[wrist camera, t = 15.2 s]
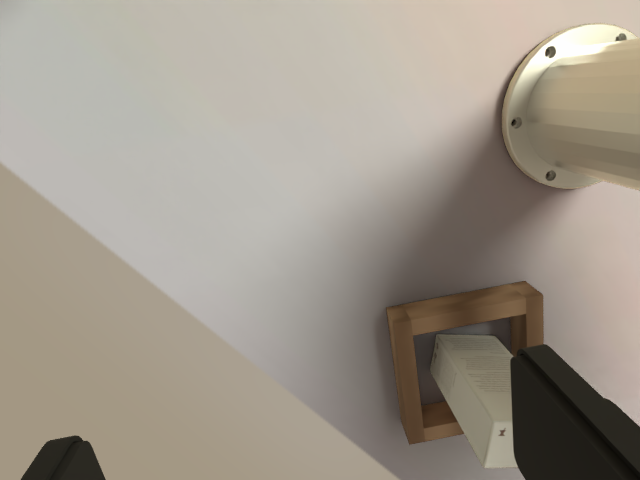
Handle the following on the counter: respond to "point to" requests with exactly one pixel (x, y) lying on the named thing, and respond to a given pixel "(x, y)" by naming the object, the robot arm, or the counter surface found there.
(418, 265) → the counter surface
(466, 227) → the counter surface
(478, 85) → the counter surface
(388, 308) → the square wooden frame
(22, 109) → the counter surface
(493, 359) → the skincare box
